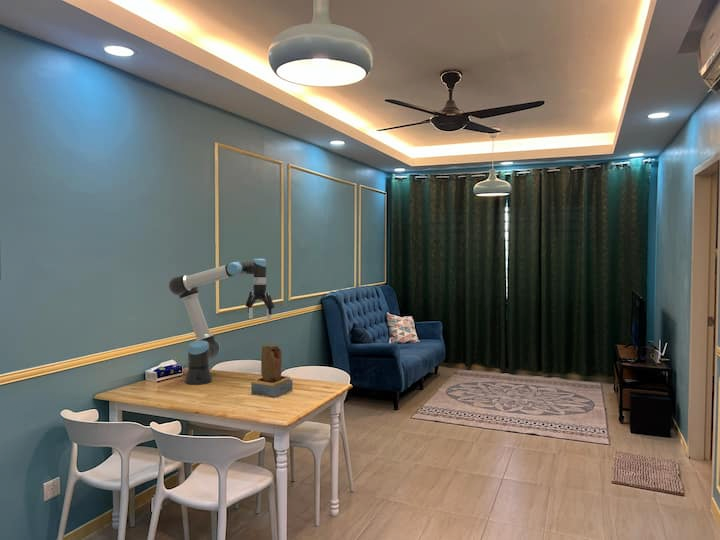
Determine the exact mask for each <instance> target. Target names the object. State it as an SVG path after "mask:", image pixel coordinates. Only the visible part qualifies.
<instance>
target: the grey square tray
mask: <svg viewBox="0 0 720 540" xmlns="http://www.w3.org/2000/svg"><path fill="white" fill-rule="evenodd" d="M250 389H251V392H250V393H252V394H251V395H256V394H258V395H257V396H263V395H264V397H269V396H271V398H275V397H276V398H278V397H280V395H281V396H282V394H283V395H286V394H288V393H290V392H292V391H293V379H291V376H286V375H285V376H284V375H281V380H279V381H276V382H273V383H272V382H265V381H263V377H262V376H261V377H260V378H257V379H253V382H251V388H250ZM289 391H290V392H289ZM287 392H288V393H287ZM277 396H278V397H277Z"/></svg>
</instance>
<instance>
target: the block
mask: <svg viewBox="0 0 720 540" xmlns="http://www.w3.org/2000/svg"><path fill="white" fill-rule="evenodd" d="M282 358H283V357H282V351H281V348H280V346H279V345H277V344H264V345H262V347H261V359H260V360H261V364H260V366H261V367H260V368H261V369H260V371H261V378H262V377H263V381H265V382H272V383H273V382H276V381H279V380H281V376H282V370H281V368H282Z"/></svg>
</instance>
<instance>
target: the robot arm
mask: <svg viewBox="0 0 720 540" xmlns="http://www.w3.org/2000/svg"><path fill="white" fill-rule="evenodd" d="M240 275H253V291H249V295H248V298H247V300H246V302H245V304H244V305H245V307H246V308H247V312H248V319H253V318H254V309H253V306H254V305H255V303H256V301H257V300H261V301H262V302H263V303H264V304H265V306H266V320H267V321H270V320H271V318H272V317H271V316H272V310H273V309H275V304H274V302H273V299H272V297H271V296H272V295H271V292H267V260H266V258H254V259H253V261H233V262H230V263H228V264H224V265H220V266H218V267H214V268H211V269H207V270H204V271H200V272H197V273H193V274H184V275H176V276H174V277H172V278H171V279H170V280H169V283H168V289H169V291H170V293H172V294H173V295H175V296H178V297H179V300H180V301H182V302H184V307H185V309H186V312H187V314H188V318H189V320H190V324H191V326H192V329H193V333H194V335H195V340H194V341H192V342H190V343H189V344H188V348H187V352H188V353H187V358H188V360H187V365H188V368H187V369H188V370H187V373H186V377H185V379H184V380H185V381H184V382H185V384H187V385H206V384H209V383H211V382H212V381H213V376H212V374H211V372H210V371H211V370H210V360H212V359H215V358H216V357H218V355H219V354H220V352H221V343H220V342H219V341H218V340H217V339H216V338H215V336H214V334H213V333H211V331H210V329H209V326H208V323H207V321H206V318H205V315H204V312H203V309H202V306H201V303H200V299H199V297H198V296H199V294H200V293H199V290H198V289H199V287H200V286H204V285H207V284H211V283H214V282H215V283H216V282H218V281H220V280H221V281H222V280H224V279H227V278H231V277H235V276H240Z"/></svg>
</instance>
